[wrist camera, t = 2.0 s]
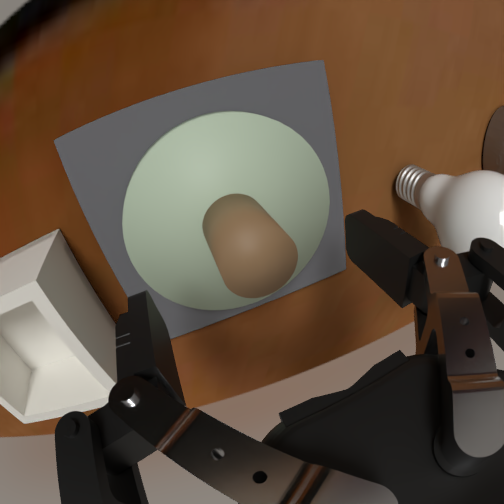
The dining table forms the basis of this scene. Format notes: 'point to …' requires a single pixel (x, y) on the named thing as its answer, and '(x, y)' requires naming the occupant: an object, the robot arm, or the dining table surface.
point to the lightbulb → (457, 204)
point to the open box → (52, 334)
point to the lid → (225, 210)
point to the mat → (174, 113)
